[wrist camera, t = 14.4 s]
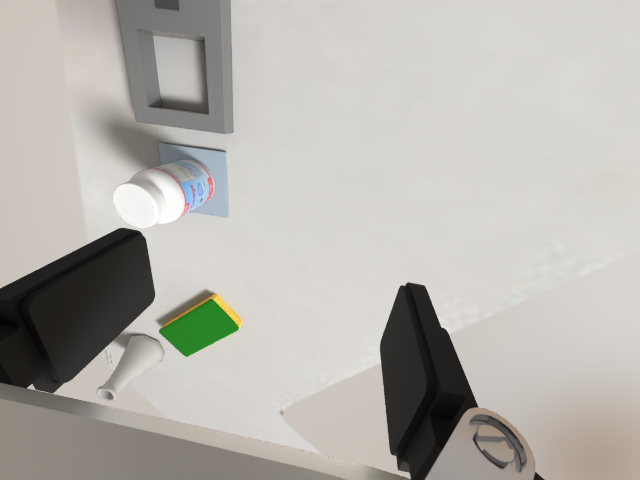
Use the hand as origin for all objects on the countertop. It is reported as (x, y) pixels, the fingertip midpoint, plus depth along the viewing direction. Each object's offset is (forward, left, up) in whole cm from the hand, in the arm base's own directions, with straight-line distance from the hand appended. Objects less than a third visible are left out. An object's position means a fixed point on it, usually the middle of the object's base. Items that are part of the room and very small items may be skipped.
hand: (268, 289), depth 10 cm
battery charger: (-14, -18, -27) cm, 35 cm away
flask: (+40, -31, -27) cm, 57 cm away
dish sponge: (+31, -19, -28) cm, 45 cm away
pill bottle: (+4, -18, -27) cm, 32 cm away
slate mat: (+5, -18, -27) cm, 33 cm away
